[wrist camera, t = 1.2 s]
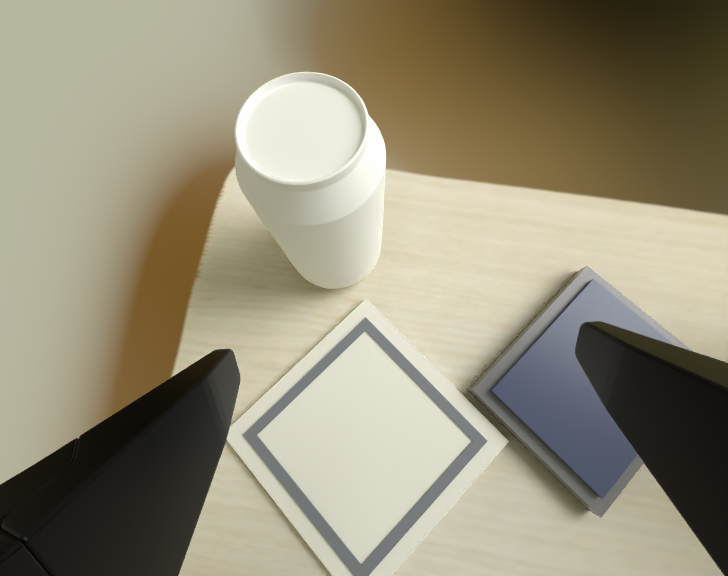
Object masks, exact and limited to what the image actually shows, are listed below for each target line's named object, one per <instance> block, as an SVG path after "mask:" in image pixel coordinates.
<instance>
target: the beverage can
mask: <svg viewBox="0 0 728 576" xmlns="http://www.w3.org/2000/svg"><path fill="white" fill-rule="evenodd" d="M235 142H236V146H237V153H236V160H235V169H236V176H237V180H238V183H239V185H240V188H241V190H242V192H243V194H244V195H245V197H246V198H247V200H248V201H249V203H250V204H251V206H252V207H253V208H254V210H255V211H256V213H257V214H258V216H259V217H260V219H261V220H262V221H263V223H264V224H265V226H266V227H267V229H268V230H269V232H270V233H271V234H272V236H273V237H274V239H275V240H276V242H277V243H278V245H279V246H280V247H281V249H282V250H283V252H284V253H285V255H286V256H287V258H288V259H289V260H290V262H291V263H292V265H293V266H294V267H295V269H296V270H297V271H298V272H299V274H300V275H301V276H302V277H303V278H305V279H306V280H307V281H309V282H311V283H312V284H314V285H317V286H319V287H323V288H328V289H340V288H345V287H349V286H352V285H354V284H356V283H358V282H360V281H361V280H363V279H364V278H365V277H366V276H367V275H368V274H369V273H370V272H371V271H372V270H373V268H374V267H375V265H376V263H377V261H378V258H379V255H380V251H381V243H382V226H383V207H384V187H385V167H386V151H385V144H384V141H383V137H382V135H381V132H380V130H379V129H378V127H377V125H376V124H375V122H374V121H373V120H372V119H371V117H370V116H369V115H368V113H367V109H366V107H365V104H364V102H363V101H362V99H361V97H360V96H359V95H358V94H357V93H356V91H355V90H354V89H353V88H351V87H350V86H349V85H348V84H346V83H345V82H343V81H341V80H340V79H337V78H335V77H333V76H330V75H326V74H322V73H315V72H297V73H291V74H287V75H283V76H280V77H277V78H275V79H273V80H271V81H269V82H267V83H265V84H264V85H262V86H261V87H259V88H258V89H257V90H256V91H254V92H253V93H252V94H251V95H250V96H249V97H248V99H247V100H246V101H245V103H244V104H243V106H242V107H241V109H240V111H239V113H238V117H237V119H236V123H235Z"/></svg>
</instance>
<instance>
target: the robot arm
mask: <svg viewBox="0 0 728 576" xmlns="http://www.w3.org/2000/svg"><path fill="white" fill-rule="evenodd" d="M575 355H576V358H577V360H578V362H579V364H580V365H581V367H582V369H583V371H584V372H585V374H586V376H587V378H588V379H589V381H590V383H591V385H592V386H593V388H594V390H595V392H596V393H597V395H598V397H599V399H600V400H601V402H602V404H603V405H604V407H605V409H606V410H607V412H608V413H609V415H610V416H611V418H612V419H613V420H614V422H615V423H616V425H617V426H618V427H619V429H620V430H621V432H622V433H623V434H624V436H625V437H626V439H627V440H628V441H629V443H630V444H631V446H632V447H633V448H634V450H635V451H636V453H637V454H638V455H639V457H640V458H641V460H642V461H643V462H644V464H645V465H646V467H647V468H648V469H649V471H650V472H651V474H652V475H653V476H654V478H655V479H656V481H657V482H658V483H659V485H660V486H661V488H662V489H663V490H664V492H665V493H666V495H667V496H668V497H669V499H670V500H671V502H672V503H673V504H674V506H675V507H676V509H677V510H678V511H679V513H680V514H681V516H682V517H683V518H684V520H685V521H686V523H687V524H688V525H689V527H690V528H691V530H692V531H693V532H694V534H695V535H696V537H697V538H698V539H699V541H700V542H701V544H702V545H703V546H704V548H705V549H706V551H707V552H708V553H709V555H710V556H711V558H712V559H713V560H714V562H715V563H716V565H717V566H718V567H719V569H720V570H721V572H722V573H723V574H724V576H728V363H726V362H723V361H720V360H717V359H714V358H711V357H708V356H705V355H702V354H699V353H696V352H693V351H690V350H687V349H684V348H681V347H678V346H675V345H672V344H669V343H665V342H662V341H659V340H656V339H653V338H650V337H647V336H644V335H641V334H638V333H635V332H632V331H629V330H626V329H623V328H620V327H617V326H614V325H611V324H608V323H605V322H602V321H591V322H584V323H582V324H581V326H580V328H579V332H578V337H577V341H576V346H575ZM239 385H240V373H239V369H238V366H237V362H236V359H235V355H234V352H233V351H232V350H231V349H218V350H214V351H212V352H211V353H209V354H208V355H206V356H205V357H203V358H201V359H200V360H198V361H197V362H195V363H194V364H192V365H190V366H189V367H187V368H186V369H184V370H183V371H181V372H179V373H178V374H176V375H175V376H173V377H172V378H170V379H168V380H167V381H165V382H164V383H162V384H161V385H159V386H158V387H156V388H154V389H153V390H151V391H150V392H148V393H146V394H145V395H143V396H142V397H140V398H139V399H137V400H135V401H134V402H132V403H131V404H129V405H128V406H126V407H124V408H123V409H121V410H120V411H118V412H117V413H115V414H113V415H112V416H110V417H109V418H107V419H106V420H104V421H102V422H101V423H99V424H98V425H96V426H95V427H93V428H91V429H90V430H88V431H87V432H85V433H84V434H82V435H81V436H80V437H79V439H78V438H76V439H74V440H72V441H71V442H69V443H68V444H66V445H65V446H63V447H61V448H60V449H58V450H57V451H55V452H54V453H52V454H50V455H49V456H47V457H45V458H44V459H42V460H41V461H39V462H37V463H36V464H34V465H32V466H31V467H29V468H28V469H26V470H24V471H23V472H21V473H19V474H18V475H16V476H14V477H12V478H11V479H9V480H7V481H6V482H4V483H2V484H1V485H0V576H178V575H179V572H180V569H181V566H182V564H183V561H184V558H185V555H186V552H187V550H188V547H189V544H190V541H191V538H192V535H193V533H194V530H195V527H196V524H197V521H198V519H199V516H200V513H201V510H202V507H203V504H204V502H205V499H206V496H207V493H208V490H209V488H210V485H211V482H212V479H213V476H214V473H215V471H216V468H217V465H218V462H219V459H220V457H221V454H222V451H223V448H224V445H225V442H226V439H227V436H228V432H229V428H230V424H231V420H232V415H233V411H234V407H235V402H236V398H237V394H238V389H239Z"/></svg>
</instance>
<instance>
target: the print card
mask: <svg viewBox="0 0 728 576" xmlns="http://www.w3.org/2000/svg"><path fill="white" fill-rule="evenodd" d="M226 440H227V441H228V442H229V443H230V445H231V446H232V447H233V449H234V450H235V451H236V453H237V454H238V455H239V456H240V458H241V459H242V460H243V462H244V463H245V464H246V465H247V467H248V468H249V469H250V471H251V472H252V473H253V474H254V476H255V477H256V478H257V480H258V481H259V482H260V483H261V485H262V486H263V487H264V489H265V490H266V491H267V492H268V494H269V495H270V496H271V498H272V499H273V500H274V501H275V503H276V504H277V505H278V507H279V508H280V509H281V510H282V512H283V513H284V514H285V516H286V517H287V518H288V519H289V521H290V522H291V523H292V525H293V526H294V527H295V528H296V530H297V531H298V532H299V534H300V535H301V536H302V537H303V539H304V540H305V541H306V543H307V544H308V545H309V546H310V548H311V549H312V550H313V552H314V553H315V554H316V555H317V557H318V558H319V559H320V561H321V562H322V563H323V564H324V566H325V567H326V568H327V570H328V571H329V572H330V574H331V575H332V576H393V574H394V573H395V572H396V571H397V570H398V569H399V567H400V566H401V565H402V564H403V563H404V562H405V561H406V559H407V558H408V557H409V556H410V555H411V554H412V553H413V551H414V550H415V549H416V548H417V547H418V546H419V544H420V543H421V542H422V541H423V540H424V539H425V538H426V536H427V535H428V534H429V533H430V532H431V531H432V530H433V528H434V527H435V526H436V525H437V524H438V523H439V521H440V520H441V519H442V518H443V517H444V516H445V515H446V513H447V512H448V511H449V510H450V509H451V508H452V507H453V505H454V504H455V503H456V502H457V501H458V500H459V498H460V497H461V496H462V495H463V494H464V493H465V492H466V490H467V489H468V488H469V487H470V486H471V485H472V484H473V482H474V481H475V480H476V479H477V478H478V477H479V475H480V474H481V473H482V472H483V471H484V470H485V469H486V467H487V466H488V465H489V464H490V463H491V462H492V461H493V459H494V458H495V457H496V456H497V455H498V454H499V452H500V451H501V450H502V449H503V448H504V447H505V446H506V444H507V443H508V442H509V441H508V440H507V439H506V438H505V437H504V436H503V435H502V434H501V433H500V432H499V431H498V430H497V429H496V428H495V427H494V426H493V425H492V424H491V423H490V422H489V421H488V420H487V419H486V418H485V417H484V416H483V415H482V414H481V413H480V412H479V411H478V410H477V409H476V408H475V407H474V406H473V405H472V404H471V403H470V402H469V401H468V400H467V399H466V398H465V397H464V396H463V395H462V394H461V393H460V392H459V391H458V390H457V389H456V388H455V387H454V386H453V385H452V384H451V383H450V382H449V381H448V380H447V379H446V378H445V377H444V376H443V375H442V374H441V373H440V372H439V371H438V370H437V369H436V368H435V367H434V366H433V365H432V364H431V363H430V362H429V361H428V360H427V359H426V358H425V357H424V356H423V355H422V354H421V353H420V352H419V351H418V350H417V349H416V348H415V347H414V346H413V345H412V344H411V343H410V342H409V341H408V340H407V339H406V338H405V337H404V336H403V335H402V334H401V333H400V332H399V331H398V330H397V329H396V328H395V327H394V326H393V325H392V324H391V323H390V322H389V321H388V320H387V319H386V318H385V317H384V316H383V315H382V314H381V313H380V312H379V311H378V310H377V309H376V308H375V307H374V306H373V305H372V304H371V303H370V302H369V301H368V300H367V299H365V300H364V301H363V302H362V303H361V304H360V305H359V306H358V307H356V308H355V309H354V310H353V311H352V312H351V313H350V314H349V315H348V316H347V317H346V318H345V319H344V320H343V321H342V322H341V323H340V324H338V325H337V326H336V327H335V328H334V329H333V330H332V331H331V332H330V333H329V334H328V335H327V336H326V337H325V338H324V339H323V340H322V341H320V342H319V343H318V344H317V345H316V346H315V347H314V348H313V349H312V350H311V351H310V352H309V353H308V354H307V355H306V356H305V357H304V358H302V359H301V360H300V361H299V362H298V363H297V364H296V365H295V366H294V367H293V368H292V369H291V370H290V371H289V372H288V373H287V374H286V375H284V376H283V377H282V378H281V379H280V380H279V381H278V382H277V383H276V384H275V385H274V386H273V387H272V388H271V389H270V390H269V391H268V392H266V393H265V394H264V395H263V396H262V397H261V398H260V399H259V400H258V401H257V402H256V403H255V404H254V405H253V406H252V407H251V408H250V409H248V410H247V411H246V412H245V413H244V414H243V415H242V416H241V417H240V418H239V419H238V420H237V421H236V422H235V423H234V424H233V425H231V426H230V428H229V432H228V436H227V439H226Z"/></svg>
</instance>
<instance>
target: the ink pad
mask: <svg viewBox="0 0 728 576" xmlns="http://www.w3.org/2000/svg"><path fill="white" fill-rule="evenodd" d="M591 321H602V322H605V323H608V324H611V325H614V326H617V327H620V328H623V329H626V330H629V331H632V332H635V333H638V334H641V335H644V336H647V337H650V338H653V339H656V340H659V341H662V342H665V343H669V344H672V345H675V346H678V347H681V348H684V349H687V350H690V349H689V348H688V347H686V346H685V345H684V344H683V343H682V342H680V341H679V340H678V339H677V338H675V337H674V336H673V335H672V334H670V333H669V332H668V331H667V330H666V329H664V328H663V327H662V326H661V325H659V324H658V323H657V322H656V321H654V320H653V319H652V318H651V317H649V316H648V315H647V314H646V313H645V312H643V311H642V310H641V309H640V308H638V307H637V306H636V305H635V304H633V303H632V302H631V301H630V300H629V299H627V298H626V297H625V296H624V295H622V294H621V293H620V292H619V291H617V290H616V289H615V288H614V287H612V286H611V285H610V284H609V283H608V282H606V281H605V280H604V279H603V278H601V277H600V276H599V275H598V274H596V273H595V272H594V271H593V270H592V269H590V268H589V267H588V266H586V267H585V268H583V269H581V270H579V271H578V272H577V273H576V274H575V275H574V276H573V277H572V278H571V279H570V280H569V282H568V283H567V284H566V285H565V286H564V287H563V288H562V289H561V290H560V291H559V292H558V293H557V294H556V296H555V297H554V298H553V299H552V300H551V301H550V302H549V303H548V304H547V305H546V306H545V307H544V309H543V310H542V311H541V312H540V313H539V314H538V315H537V316H536V317H535V318H534V319H533V320H532V321H531V323H530V324H529V325H528V326H527V327H526V328H525V329H524V330H523V331H522V332H521V333H520V334H519V336H518V337H517V338H516V339H515V340H514V341H513V342H512V343H511V344H510V345H509V346H508V347H507V348H506V350H505V351H504V352H503V353H502V354H501V355H500V356H499V357H498V358H497V359H496V360H495V361H494V362H493V364H492V365H491V366H490V367H489V368H488V369H487V370H486V371H485V372H484V373H483V374H482V375H481V377H480V378H479V379H478V380H477V381H476V382H475V383H474V384H473V385H472V386H471V387H470V388H469V389H468V390H469V391H470V392H471V393H472V394H473V395H474V396H475V397H476V398H477V399H478V400H479V401H480V402H481V403H482V404H483V405H484V406H485V407H486V408H487V409H488V410H489V411H490V412H491V413H492V414H493V415H494V416H495V417H496V418H497V419H498V420H499V421H500V422H501V423H502V424H503V425H504V426H505V427H506V428H507V429H508V430H509V431H510V432H511V433H512V434H513V435H514V436H515V437H516V438H517V439H518V440H519V441H520V442H521V443H522V444H523V445H524V446H525V447H526V448H527V449H528V450H529V451H530V452H531V453H532V454H533V455H534V456H535V457H536V458H537V459H538V460H539V461H540V462H541V463H542V464H543V465H544V466H545V467H546V468H547V469H548V470H549V471H550V472H551V473H552V474H553V475H554V476H555V477H556V478H557V479H558V480H559V481H560V482H561V483H562V484H563V485H564V486H565V487H566V488H567V489H568V490H569V491H570V492H571V493H572V494H573V495H574V496H575V497H577V498H578V499H579V500H580V501H581V502H582V503H583V504H584V505H585V506H586V507H587V508H588V509H589V510H590V511H591V512H593V513H594V514H596V515H598V516H600V517H602V516H603V515H604V513H605V512H606V511H607V510H608V508H609V507H610V506H611V504H612V503H613V502H614V500H615V499H616V498H617V497H618V495H619V494H620V493H621V491H622V490H623V489H624V488H625V486H626V485H627V484H628V482H629V481H630V480H631V478H632V477H633V476H634V475H635V473H636V472H637V471H638V469H639V468H640V467H641V465H642V464H643V463H644V462H643V461H642V460H641V458H640V457H639V455H638V454H637V453H636V451H635V450H634V448H633V447H632V446H631V444H630V443H629V441H628V440H627V439H626V437H625V436H624V434H623V433H622V432H621V430H620V429H619V427H618V426H617V425H616V423H615V422H614V420H613V419H612V418H611V416H610V415H609V413H608V412H607V410H606V409H605V407H604V405H603V404H602V402H601V400H600V399H599V397H598V395H597V393H596V392H595V390H594V388H593V386H592V385H591V383H590V381H589V379H588V378H587V376H586V374H585V372H584V371H583V369H582V367H581V365H580V364H579V362H578V360H577V358H576V355H575V346H576V341H577V337H578V332H579V328H580V326H581V324H582V323H584V322H591ZM690 351H691V350H690Z"/></svg>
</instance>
